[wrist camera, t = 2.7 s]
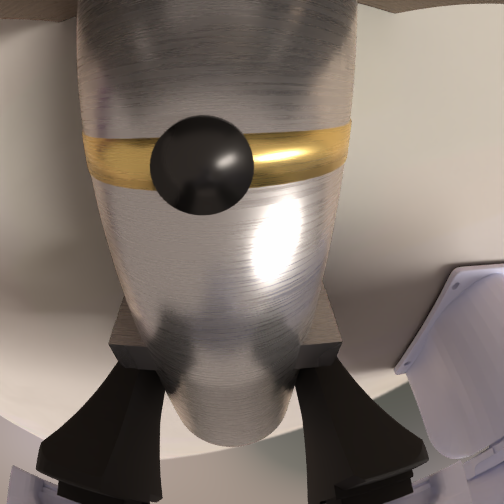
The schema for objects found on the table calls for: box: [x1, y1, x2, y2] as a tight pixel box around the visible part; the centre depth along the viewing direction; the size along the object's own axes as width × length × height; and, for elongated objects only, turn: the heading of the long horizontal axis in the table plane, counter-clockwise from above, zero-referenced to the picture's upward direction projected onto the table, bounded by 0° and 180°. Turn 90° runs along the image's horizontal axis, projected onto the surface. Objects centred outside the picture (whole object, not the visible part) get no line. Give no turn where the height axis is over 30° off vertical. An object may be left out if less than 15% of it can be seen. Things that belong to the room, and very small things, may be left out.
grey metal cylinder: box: [77, 0, 357, 447], centre depth 8 cm, size 15×6×5 cm, turn 179°
